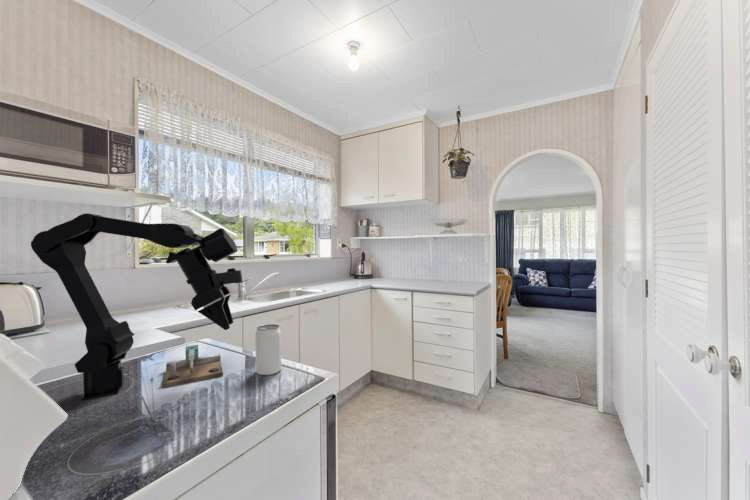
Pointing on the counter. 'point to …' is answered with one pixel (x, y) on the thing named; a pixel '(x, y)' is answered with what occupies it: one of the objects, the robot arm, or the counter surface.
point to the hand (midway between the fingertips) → (229, 326)
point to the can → (268, 349)
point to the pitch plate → (201, 370)
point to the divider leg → (191, 355)
